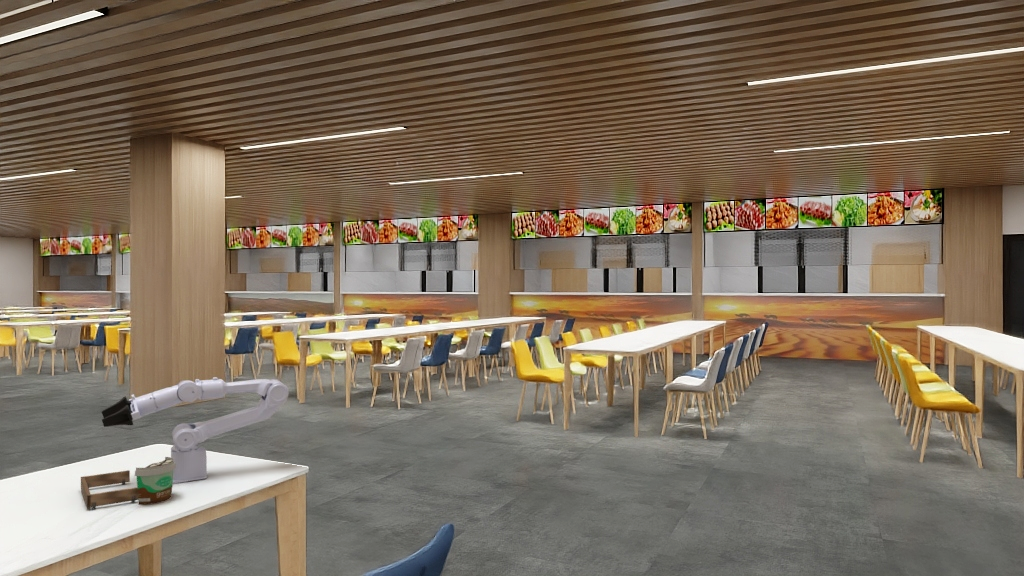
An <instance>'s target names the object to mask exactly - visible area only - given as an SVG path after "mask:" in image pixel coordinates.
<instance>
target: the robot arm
mask: <svg viewBox="0 0 1024 576" xmlns="http://www.w3.org/2000/svg"><path fill="white" fill-rule="evenodd" d="M289 390H290V389H289V388H288V386H287V385H286V384H284V383H282V382H281V380H279V379H277V378H273V379H268V378H260V379H259V378H258V379H257V378H256V379H250V380H249V379H247V380H239V381H231V382H225V380H223V379H222V378H218V377H217V376H215V377H212V379H203V380H200V379H199V378H196V379H195V380H194V381H192V380H185V379H183V380H181V381H179V383H178V384H176V385H172V386H170V387H169V386H168V387H165V388H161V389H159V390H155V391H151V392H150V393H145V394H142V395H141V396H140V395H139V396H137V397H136V396H135V394H134V393H133V394H131V398H130V399H128V398H127V396H126V395H125V396H123V397H122V398H121V399H120V400H119V401H117V402H116V403H114V404H113V405H110V406H108V407H107V408H105V409H103V410H102V411H101V414H102V416H103V417H102V419H101V422H102V425H103V427H104V428H105V427H106V428H107V427H113V426H123V425H125V426H134V422H133V421H136V420H139V419H141V418H142V417H145V416H148V415H151V414H153V413H157V412H160V411H162V410H163V411H164V410H166V409H168V408H172V407H174V406H176V405H179V404H182V403H184V402H186V403H193V402H195V401H197V400H200V401H201V400H202V401H203V400H212V399H214V400H215V399H222V398H224V397H225V395H227V394H235V393H237V394H239V393H255V394H258V395H260V396H261V397H260V399H259V401H258V403H257V404H256V406H252V407H249V408H245V409H242V410H238V411H235V412H232V413H229V414H226V415H222V416H219V417H216V418H212V419H209V420H206V421H198V422H197V421H196V422H194V423H185V422H184V423H180V424H178V425H176V426H175V427H174V428H173V429H172V432H171V437H172V440H173V446H171V448H170V457H171V458H173V459H174V461H175V463H176V469H174V471H173V482H172V484H179V483H185V482H191V481H198V480H204V479H207V478H208V476H207V474H208V473H207V469H208V468H207V466H208V465H207V462H208V461H207V459H208V458H207V457H208V456H207V450H206V448H205V446H198V444H200V443H203V442H205V441H206V440H208V439H210V438H212V437H216V436H218V435H221V434H225V433H228V432H232V431H234V430H238V429H241V428H243V427H246V426H250V425H253V424H257V423H260V422H263V421H266V420H269V419H270V418H271V417H272V416H273V415H274V414H275V413H276V412H277V411H278V410H279V409H280V408H281V407H282V406H284V405H286V402H287V400H288V398H289V395H290V393H289V392H290V391H289Z"/></svg>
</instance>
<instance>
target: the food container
mask: <svg viewBox="0 0 1024 576" xmlns="http://www.w3.org/2000/svg"><path fill="white" fill-rule="evenodd" d="M174 469H176V463H175V461H174V459H173V458H171V456H170V457H169V456H165V457H164V460H162V461H158V462H154V463H150V464H149V465H147V466H145V467H135V471H134V477H136V486H137V489H138V500H137V501H138V505H140V506H141V505H142V506H145V505H154V504H159V503H164V502H166V501H169V500H170V499H171V498H172V491H173V483H172V482H173V471H174Z"/></svg>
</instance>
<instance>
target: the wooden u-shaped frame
mask: <svg viewBox="0 0 1024 576" xmlns="http://www.w3.org/2000/svg"><path fill="white" fill-rule="evenodd" d="M130 475H131V473H130V469H128V470H121V471H115V472H106V473H100V474H92V475H84V476H80V489H81V493H82V496H83V500H84V503H85V505H86V508H87V509H89V508H92V510H95V509H96V508H97V507H100V506H101V507H103V506H108V505H115V504H120V503H127V502H131V503H136V501H138V489H137V487H129V488H123V489H117V490H110V491H103V492H96V493H91V491H90V489H91V488H98V487H104V486H109V485H110V486H111V485H117V484H121V485H126V483H130V482H131V481H130V479H131V477H130Z"/></svg>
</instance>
